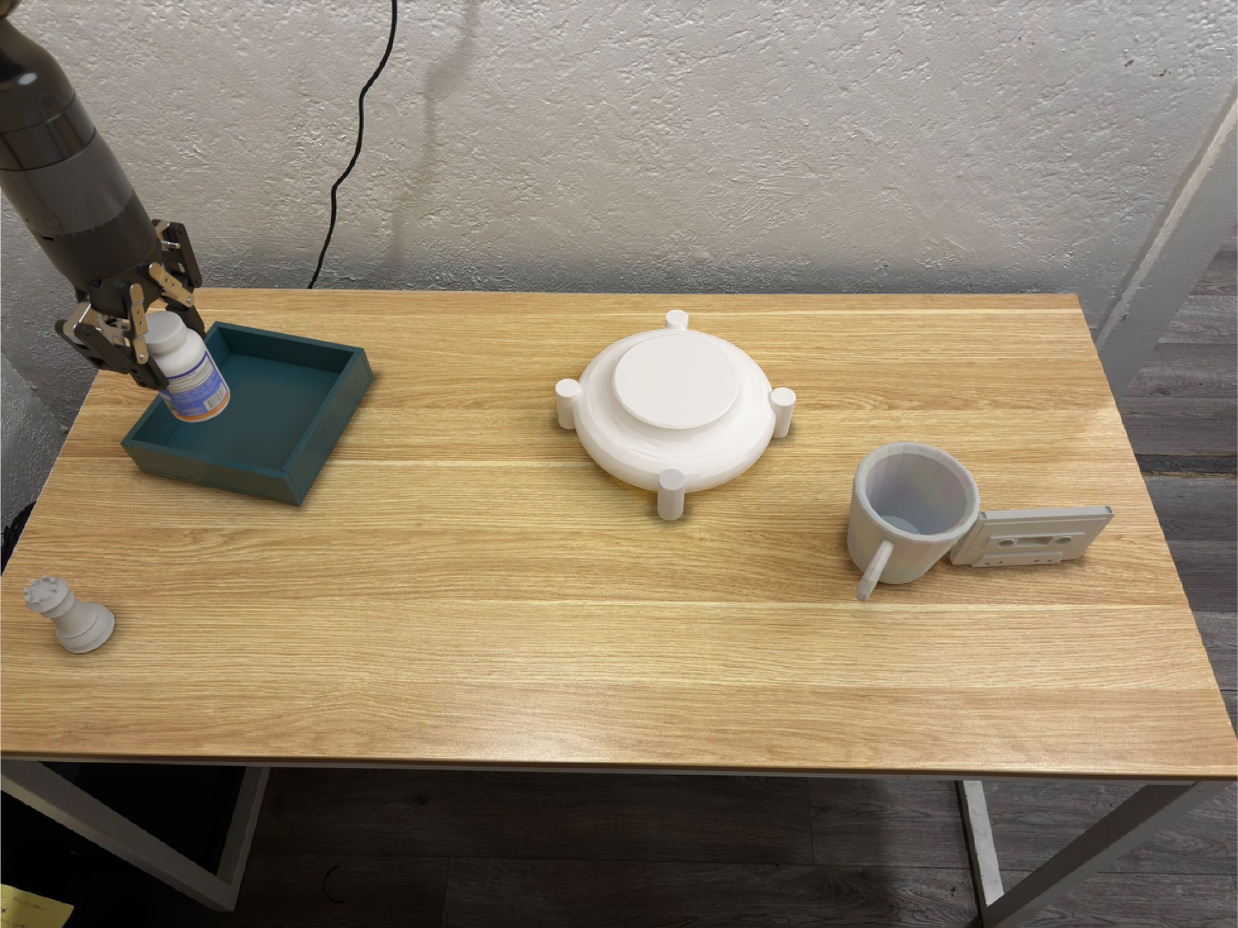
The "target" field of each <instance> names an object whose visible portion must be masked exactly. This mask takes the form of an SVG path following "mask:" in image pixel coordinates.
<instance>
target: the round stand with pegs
mask: <svg viewBox="0 0 1238 928" xmlns="http://www.w3.org/2000/svg"><path fill="white" fill-rule="evenodd" d="M689 319H690V318H689V314H688V313H687V312H686V311H684V310H682V309H679V308H678V309H672V310H668V312H667V313H666V314H665V319H664V328H660V329H659V328H657V329H650V330H646V331H641V332H637V333H634V334H631V335H628V336H626V337H623V338H621V339H619V340H618V341H615V342H613V343H612V344H610V345H609V346H607V347H606V348H604V349H603V350H602V351H600V352H599V353H598V354H597V355H596V356H594V358H592V359H591V361H590V362H589V363H588V364H587V366H586V367H585V369H584V370H583V372H582V373H581V375H580V377H579V378H578V381H577V380H575V379H572V378H563V379H561V380H558V381H557V383H556V384H555V386H554V391H555V401H556V402H555V403H556V409H557V419H558V424H559V426H560V427H561V428H563V429H566V430H575V431H576V434H577V437H578V439H579V441H580V443H581V445H582V447H583V448H584V449H585V451H586V453H587V454H588V455H589V456H590V458H591V459H593V460H594V461H595V463H596V464H598V466H600V467H601V468H602V469H603V470H605V472H606V473H609V474H610V475H612V476H613V477H615V478H617V479H619V480H620V481H622V482H625V483H627V484H629V485H631V486H635V487H637V488H640V489H643V490H648V491H653V492H657V505H656V512H657V515H658V516H659V517H660V518H661V519H662V520H664V521H669V522H673V521H676V520H678V519H680V518H681V517H682V516H683V512H684V504H685V503H684V502H685V495H686V493H696V492H701V491H706V490H711V489H713V488H716V487H720V486H722V485H725V484H726V483H728V482H730V481H733V480H734V479H736V478H737V477H739V476H741V475H742V474H743V473H745V472H747V470H749V469H750V468H752V466H753V465H754V464H756V463H757V461H758V460H759V459H760V458H761V456H762V455H763V454H764V453H765V451H766V450H767V448H768V446H769V444H770V441H772V438H773V439H782V438H784V437H786V436H787V435H788V433H789V429H790V424H791V421H792V416H793V412H794V408H795V404H796V400H797V395H796V393H795V392H794V390H792V389H790V388H788V387H784V386H781V387H776V388H774V389H773V387H772V385H771V383H770V381H769V379H768V377H767V375H766V374H765V372H764V371H763V370H762V368H761V367H760V365H758V363H757V362H756V361H755V360H754V359H753V358H752V357H750V355H748V354H747V353H746V352H745V351H743V350H742V349H740V348H739V347H737V345H735V344H733V343H731V342H729V341H728V340H725V339H723V338H721V337H718V336H715V335H713V334H710V333H706V332H704V331H698V330H693V329H689Z"/></svg>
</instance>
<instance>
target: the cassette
mask: <svg viewBox="0 0 1238 928" xmlns="http://www.w3.org/2000/svg"><path fill="white" fill-rule="evenodd" d="M1115 516H1116V514H1115V511H1114V509H1113V507H1112V506H1111V505H1093V506H1072V507H1071V506H1070V507H1049V508H1048V507H1045V508H1027V509H1025V508H1024V509H1004V510H1003V509H1002V510H981V511H980V510H979V512H978V517H977V520H976V521H975V522H974V524H973V525H972V526H971V528H970V529H969V530H968V532H967V533H966V534H965V535H963V536H962V537H961V538H960V539H959V540H958V541H957V542H956V543H955V545H954V547H953V549H952V550H951V552H950V554H949V561H950V563H951V564H952V565H953V566H959V565H960V566H961V565H962V566H963V565H970V567H971V568H985V567H986V568H989V567H1008V566H1010V567H1011V566H1030V565H1050V564H1051V565H1054V564H1055V565H1056V564H1060V563H1061V561H1066V560H1077V559H1080V558H1081V556H1082V555H1083V554H1084V553H1085V552H1086V550H1087V549H1088V548H1089V547H1090V546H1091V545H1092V544H1093V542H1094V541H1095V540H1096V539H1097V537H1098V536H1099V535H1100V534H1101V533H1102V532H1103V530H1104V529H1106V527H1107V526H1108V524H1110V522H1111V521H1112V520H1113V518H1115Z"/></svg>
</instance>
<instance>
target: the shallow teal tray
mask: <svg viewBox="0 0 1238 928" xmlns="http://www.w3.org/2000/svg"><path fill="white" fill-rule="evenodd" d="M205 332H206V334H207V336H206V338H205V339H204V340H203V342H204V344H205V346H206V348H207V349H208V351H209V353H210V355H211V357H212V359H213V360H214V362H215V364H216V366H217V368H218V370H219V371H220V373H221V375H222V377H223V378H224V380H225V382H226V384H227V386H228V388H229V390H230V399H229V402H228V404H227V406H226V407H225V409H224V410H223V411H222V412H221V413H219V414H218V415H217V416H215V417H213V418H211V419H208V420H205V421H201V422H185V421H182V420H180V419H178V418H177V417H175V416H174V415H173V413H172V412H171V411H170V409H169V408H168V406H167V405H166V403H165V402H164V400H163V399H162V397H161V396H160V394H159V393H157V395H156V396H155V397H154V399H153V400H152V401H151V403H150V404H149V405H148V407H146V409H145V411H144V412H143V413H142V414H141V416H140V417H139V418H138V420H137V421H136V422H135V423H134V424H133V426H131V428H130V430H129V431H128V432H127V434H126V435H125V436H124V437H123V438H122V440H121V442H120V441H119V445H120V446H121V447H122V448H123V450H124V451H125V453H126V454H127V455H128V456H129V457H130V458H131V460H132V461H133V463H135V465H136V466H137V468H138V469H139V470H140V471H141V472H142V473H146V474H151V475H156V476H159V477H165V478H168V479H169V478H170V479H173V480H178V481H183V482H188V483H191V484H196V485H201V486H206V487H209V488H214V489H219V490H223V491H227V492H231V493H232V492H233V493H237V494H242V495H246V496H250V497H256V498H259V499H260V498H261V499H264V500H269V501H274V502H278V503H282V504H286V505H291V506H296V507H301V505H302V503H303V501H304V500H305V498H306V496H307V494H308V493H309V491H310V489H311V487H312V486H313V484H314V482H315V480H316V479H317V477H318V475H320V472H321V470H322V469H323V467H324V466H325V464H326V462H327V460H328V459H329V457H330V455H331V454H332V451H333V450H334V448H335V447H336V445H337V443H338V441H339V439H340V438H341V436H342V434H343V432H344V431H345V429H346V428H347V425H348V424H349V422H350V421H351V419H352V417H353V415H354V414H355V412H356V410H358V409H357V408H358V407H359V405H360V403H361V402H362V400H363V398H364V397H365V395H366V393H367V391H368V390H369V388H370V386H371V385H372V383H373V381H374V380H375V375H374V373H373V370H372V367H371V364H370V361H369V359H368V355H367V353H366V350H365V348H364V347H359V346H353V345H349V344H342V343H337V342H332V341H326V340H321V339H315V338H311V337H305V336H300V335H294V334H288V333H285V332H280V331H279V332H278V331H274V330H273V331H272V330H268V329H263V328H257V327H252V326H245V325H241V324H236V323H230V322H224V321H219V320H214V322H213V324H212V325H211V326H210V327H209V328H208V330H207V331H205Z"/></svg>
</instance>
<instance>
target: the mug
mask: <svg viewBox="0 0 1238 928" xmlns="http://www.w3.org/2000/svg"><path fill="white" fill-rule="evenodd" d="M980 496H981V495H980V491H979V486H978V485H977V483H976V480H975V479H974V478H973V475H972V473H971V472H970V470H968V469H967V468H966V466H964V464H963V463H961V462H960V460H958V459H957V458H956V457H954V456H953V455H951V454H949V453H947V452H946V451H944V450H943V449H941V448H939V447H936V446H933V445H929V444H926V443H923V442H919V441H918V442H917V441H904V440H901V441H895V442H888V443H884V444H881V445H880V446H878V447H876V448H873V449H872V450H870V451H869V452H868V453H867V454H866V455H865V456H864V457H863V458H862V460H861V461H859V462H858V464H857V466H856V469H855V473H854V476H853V480H852V488H851V498H850V509H849V520H848V526H847V527H848V528H847V538H846V542H847V551H848V553H849V555H850V559H851V560H852V562H853V563H854V565H855V566H856V567H857V568H858V569H859V570H860V572H862V573H863V575H862V577H861V579H860V581H859V583H858V585H857V587H856V590H855V596H854V598H855V599H856V600H857V601H858V602H860V603H865V602H866V601H867V600H869V598H870V597H871V595H872V593H873V591H874V590H875V588H876V586H877V583H878V582H880V583H883V584H887V585H888V584H889V585H904V584H908V583H912V582H914V581H916V580H917V579H919V578H921V577H922V576H924V575H925V574H926V572H928V571H929V570H930V569H931V568H932V567H933V566H934V565H935V564H936V563H937V562H938V561H939V560H940V559H941V558H942V557H943V556H944V555H945V554H946V553H947V552H948V551H950V549H951V548H952V547H953V546H955V545H956V544H957V542H958V541H959V539H960V538H961V537H962V536H963V535H965V534H966V533H967V532H968V530H969V529H970V528H971V526H972V525H973V524H974V522H975V521H976V520H977V517H978V512H979V511H980V507H981V504H982V503H981V497H980Z"/></svg>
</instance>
